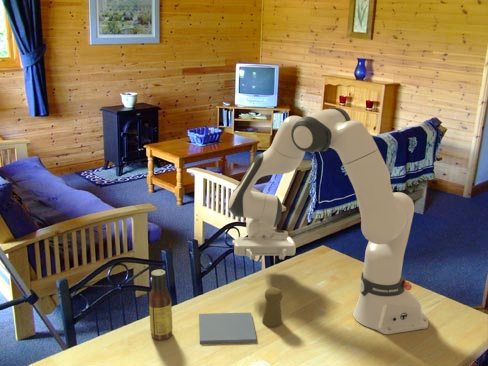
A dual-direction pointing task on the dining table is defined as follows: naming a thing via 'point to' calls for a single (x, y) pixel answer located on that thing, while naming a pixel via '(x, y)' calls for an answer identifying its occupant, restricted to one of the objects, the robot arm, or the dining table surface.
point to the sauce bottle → (160, 307)
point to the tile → (226, 328)
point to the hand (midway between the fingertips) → (267, 257)
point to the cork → (272, 308)
